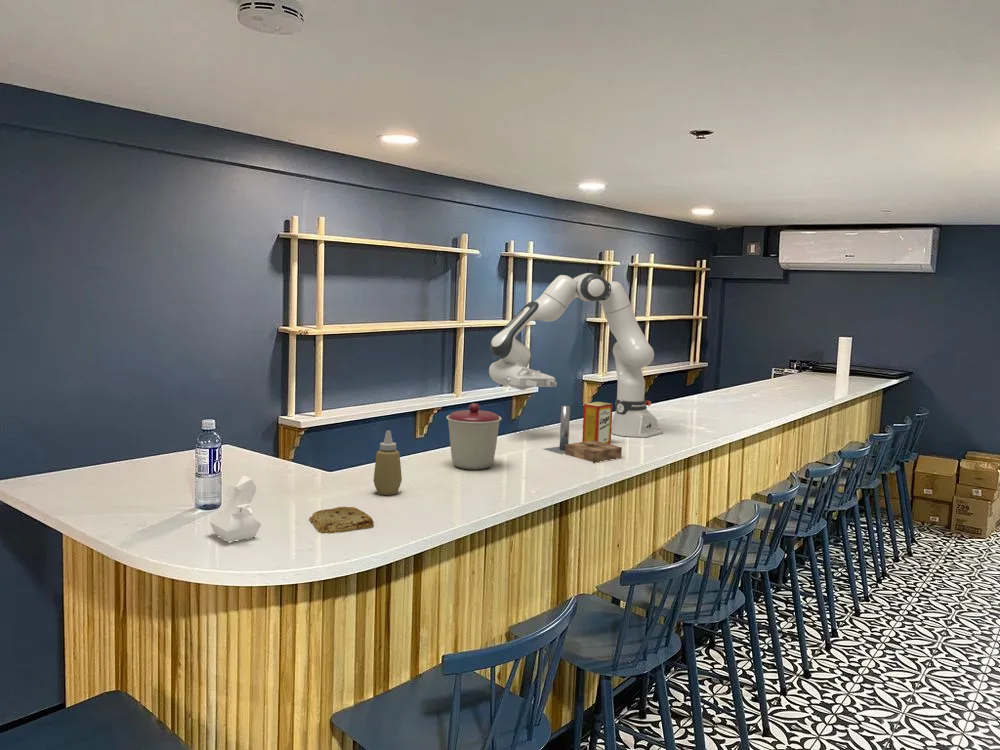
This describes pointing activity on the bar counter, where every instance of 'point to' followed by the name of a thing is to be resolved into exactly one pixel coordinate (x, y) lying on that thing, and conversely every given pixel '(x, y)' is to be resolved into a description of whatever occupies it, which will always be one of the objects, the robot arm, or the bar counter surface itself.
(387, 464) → the squeeze bottle
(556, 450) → the mat
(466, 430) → the canister
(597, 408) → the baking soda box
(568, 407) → the pin
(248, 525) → the white faceted figurine
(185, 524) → the bar counter surface
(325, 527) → the pastry
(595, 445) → the hole block
